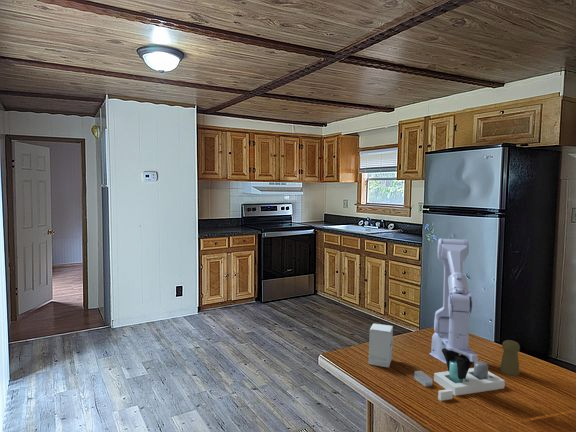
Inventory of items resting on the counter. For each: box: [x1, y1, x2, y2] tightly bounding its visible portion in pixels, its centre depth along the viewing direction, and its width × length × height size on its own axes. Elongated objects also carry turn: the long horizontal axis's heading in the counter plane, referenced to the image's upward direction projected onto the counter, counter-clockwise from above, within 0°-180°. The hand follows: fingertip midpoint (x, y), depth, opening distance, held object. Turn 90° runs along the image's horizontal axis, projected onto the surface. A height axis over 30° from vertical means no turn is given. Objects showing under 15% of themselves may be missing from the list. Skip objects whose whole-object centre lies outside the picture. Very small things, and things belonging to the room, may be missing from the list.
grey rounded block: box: [473, 360, 489, 380], centre depth 129 cm, size 4×4×6 cm
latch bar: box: [413, 370, 433, 388], centre depth 129 cm, size 6×2×3 cm, turn 16°
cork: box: [499, 339, 521, 377], centre depth 137 cm, size 6×6×11 cm
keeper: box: [437, 389, 454, 403], centre depth 119 cm, size 1×4×3 cm, turn 106°
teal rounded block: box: [449, 360, 463, 383], centre depth 126 cm, size 4×4×6 cm
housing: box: [433, 367, 506, 396], centre depth 128 cm, size 10×18×3 cm, turn 106°
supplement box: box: [368, 323, 394, 368], centre depth 145 cm, size 7×7×13 cm
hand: (456, 375), depth 127 cm, fingers closed on teal rounded block, 4 cm apart
